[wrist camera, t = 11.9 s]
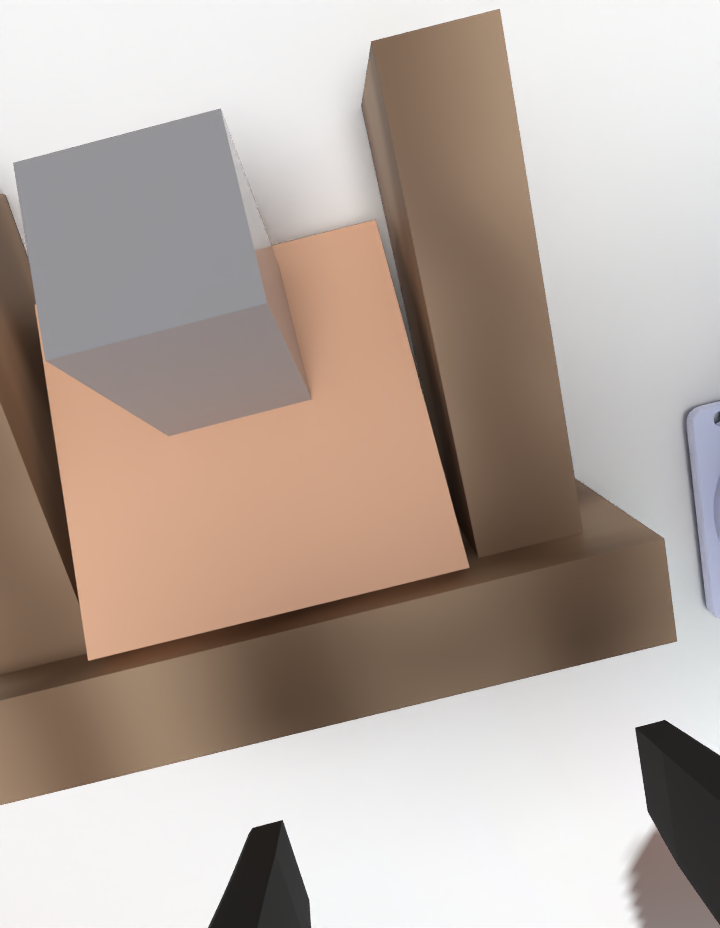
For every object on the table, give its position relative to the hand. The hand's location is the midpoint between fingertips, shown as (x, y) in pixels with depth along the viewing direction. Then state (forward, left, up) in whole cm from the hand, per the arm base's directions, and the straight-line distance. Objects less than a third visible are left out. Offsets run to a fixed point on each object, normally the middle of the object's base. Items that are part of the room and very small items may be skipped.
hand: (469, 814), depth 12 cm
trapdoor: (+3, -7, -8) cm, 11 cm away
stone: (+3, -10, -7) cm, 13 cm away
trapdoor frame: (+3, -8, -10) cm, 14 cm away
